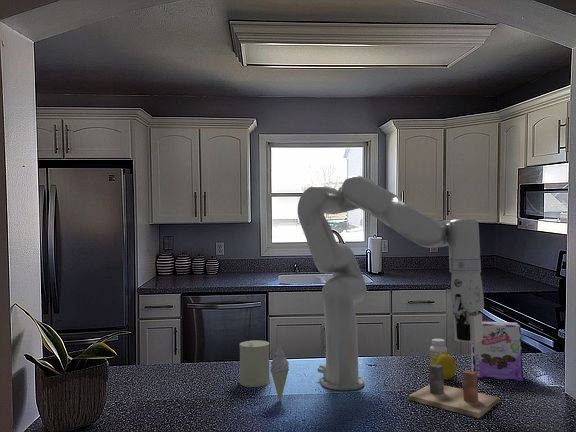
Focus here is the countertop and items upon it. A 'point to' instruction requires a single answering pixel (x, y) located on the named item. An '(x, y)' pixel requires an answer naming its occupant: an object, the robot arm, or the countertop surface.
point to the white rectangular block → (472, 328)
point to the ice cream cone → (279, 371)
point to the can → (254, 363)
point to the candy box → (498, 352)
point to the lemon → (447, 365)
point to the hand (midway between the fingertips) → (468, 337)
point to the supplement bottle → (437, 350)
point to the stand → (454, 394)
